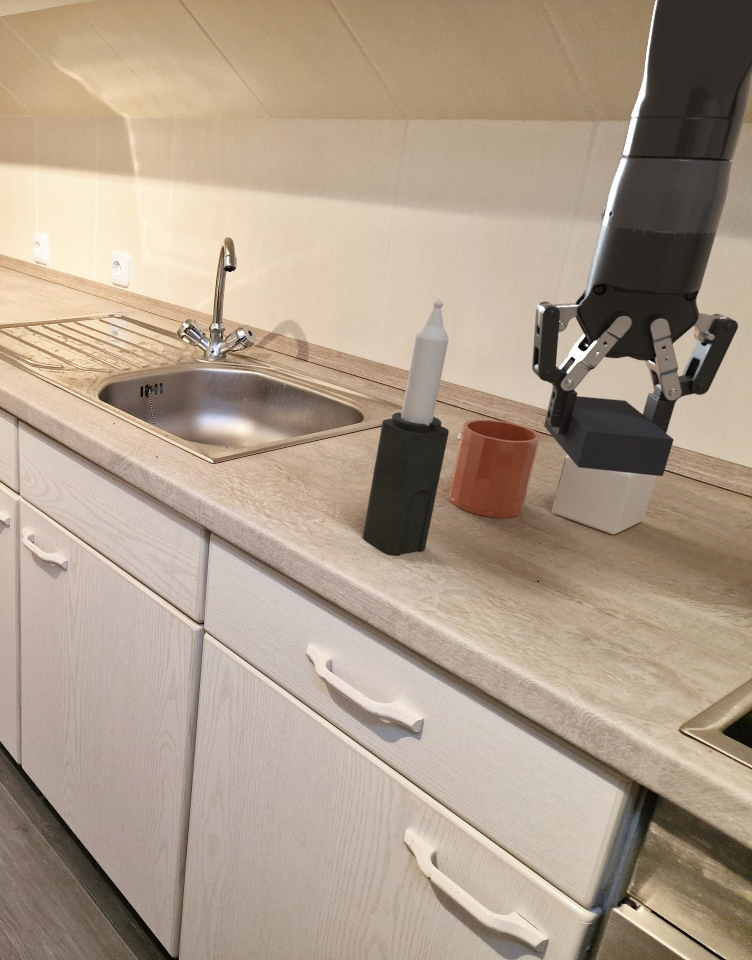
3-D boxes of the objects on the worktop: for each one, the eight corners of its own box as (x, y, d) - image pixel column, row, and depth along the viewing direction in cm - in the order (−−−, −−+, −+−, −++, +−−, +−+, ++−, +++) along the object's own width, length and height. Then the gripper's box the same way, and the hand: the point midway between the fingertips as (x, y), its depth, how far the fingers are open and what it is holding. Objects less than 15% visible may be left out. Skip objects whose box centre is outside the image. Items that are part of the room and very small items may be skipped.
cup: (514, 495, 102) (531, 424, 98) (528, 522, 95) (547, 445, 91) (444, 487, 103) (458, 416, 100) (453, 512, 96) (469, 437, 93)
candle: (396, 529, 91) (440, 294, 82) (430, 550, 87) (480, 303, 77) (357, 535, 89) (398, 295, 80) (390, 556, 85) (437, 305, 75)
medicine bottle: (580, 500, 101) (606, 403, 97) (643, 522, 96) (674, 420, 92) (549, 513, 97) (575, 412, 93) (614, 536, 92) (644, 431, 87)
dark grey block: (617, 433, 75) (625, 400, 73) (663, 476, 65) (674, 439, 63) (543, 426, 76) (551, 393, 75) (577, 467, 66) (587, 430, 65)
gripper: (567, 221, 62) (518, 441, 68) (791, 233, 59) (719, 461, 65) (542, 215, 68) (500, 415, 75) (742, 225, 66) (681, 432, 72)
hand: (602, 436), depth 70 cm, fingers closed on dark grey block, 6 cm apart
